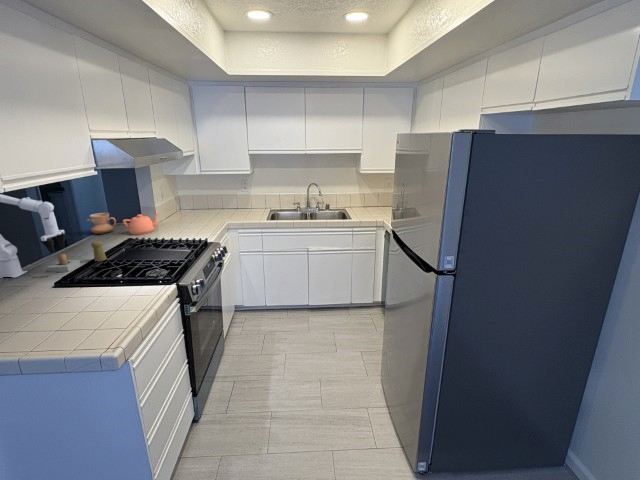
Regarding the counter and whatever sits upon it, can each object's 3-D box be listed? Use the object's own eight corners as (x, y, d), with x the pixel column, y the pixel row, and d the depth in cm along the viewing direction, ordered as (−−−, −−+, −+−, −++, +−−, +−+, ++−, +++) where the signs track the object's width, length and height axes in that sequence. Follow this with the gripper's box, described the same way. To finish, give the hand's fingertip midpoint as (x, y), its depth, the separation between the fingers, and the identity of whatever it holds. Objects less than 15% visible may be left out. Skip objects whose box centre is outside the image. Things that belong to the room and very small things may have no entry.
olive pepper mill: (104, 257, 196) (100, 239, 193) (108, 259, 193) (104, 241, 189) (92, 260, 192) (88, 242, 189) (96, 262, 188) (92, 243, 185)
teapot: (163, 227, 260) (160, 210, 256) (161, 232, 244) (157, 215, 240) (127, 231, 252) (124, 214, 248) (122, 237, 237) (118, 218, 233)
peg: (59, 270, 178) (55, 256, 176) (63, 267, 182) (59, 253, 179) (66, 269, 179) (62, 255, 176) (70, 267, 182) (66, 253, 180)
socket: (49, 272, 175) (47, 267, 174) (62, 265, 185) (60, 260, 184) (68, 271, 176) (67, 266, 175) (80, 264, 185) (79, 259, 184)
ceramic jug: (87, 236, 241) (83, 217, 237) (93, 231, 254) (88, 213, 250) (115, 234, 247) (112, 215, 243) (119, 229, 260) (116, 211, 256)
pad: (32, 277, 169) (32, 276, 169) (44, 271, 177) (43, 270, 177) (48, 276, 170) (48, 276, 170) (59, 270, 177) (59, 270, 177)
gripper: (48, 228, 168) (55, 254, 172) (67, 221, 182) (73, 245, 186) (33, 229, 168) (41, 254, 172) (54, 222, 181) (60, 245, 185)
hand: (57, 249), depth 179 cm, fingers open, 7 cm apart
